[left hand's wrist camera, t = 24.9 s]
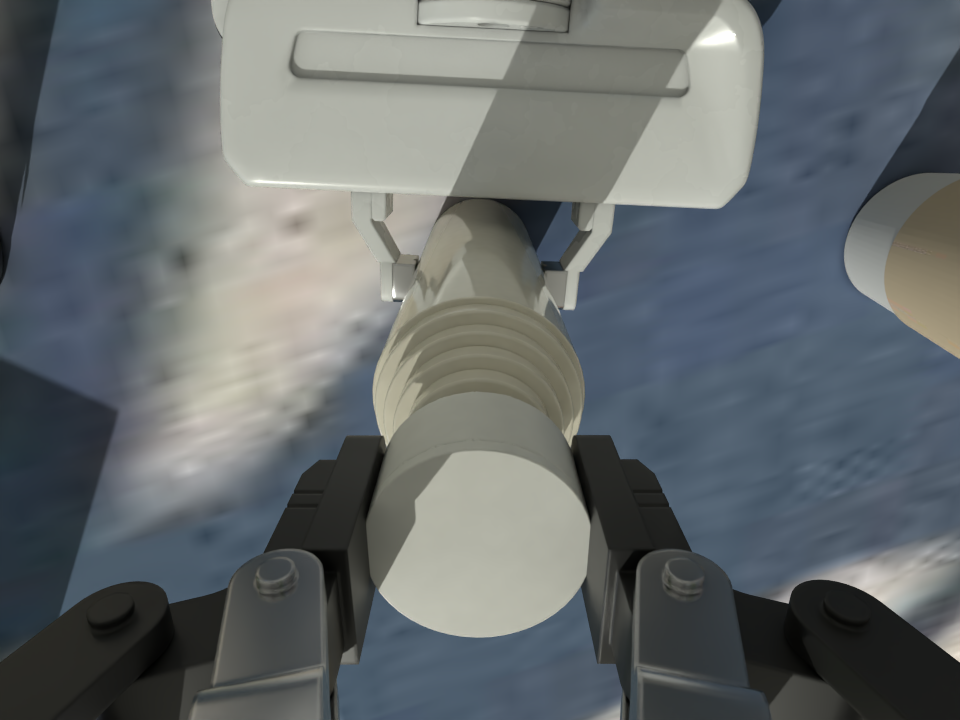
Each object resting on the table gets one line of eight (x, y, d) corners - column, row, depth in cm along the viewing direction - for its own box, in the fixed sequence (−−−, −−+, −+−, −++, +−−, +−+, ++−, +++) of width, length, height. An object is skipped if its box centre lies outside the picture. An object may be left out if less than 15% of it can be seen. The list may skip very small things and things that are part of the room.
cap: (348, 505, 13) (322, 581, 11) (442, 354, 11) (434, 407, 9) (509, 582, 13) (514, 668, 11) (613, 448, 12) (641, 517, 10)
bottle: (546, 276, 33) (672, 590, 11) (454, 315, 34) (409, 678, 12) (506, 180, 31) (566, 336, 10) (410, 224, 32) (264, 461, 10)
